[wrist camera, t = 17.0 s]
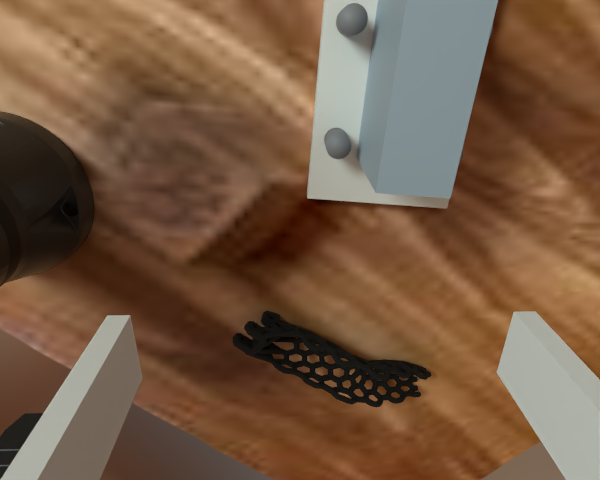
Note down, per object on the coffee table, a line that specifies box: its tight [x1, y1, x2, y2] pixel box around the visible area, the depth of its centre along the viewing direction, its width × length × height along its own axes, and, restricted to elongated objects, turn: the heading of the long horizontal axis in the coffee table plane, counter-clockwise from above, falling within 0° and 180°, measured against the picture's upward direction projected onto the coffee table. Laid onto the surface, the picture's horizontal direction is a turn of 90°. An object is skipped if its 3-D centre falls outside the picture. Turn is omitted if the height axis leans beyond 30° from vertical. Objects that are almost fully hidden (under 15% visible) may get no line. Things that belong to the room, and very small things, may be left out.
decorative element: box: [233, 311, 431, 407], centre depth 44 cm, size 22×5×6 cm, turn 69°
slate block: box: [356, 0, 498, 199], centre depth 29 cm, size 12×5×10 cm, turn 175°
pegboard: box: [307, 0, 493, 209], centre depth 33 cm, size 20×13×4 cm, turn 175°
